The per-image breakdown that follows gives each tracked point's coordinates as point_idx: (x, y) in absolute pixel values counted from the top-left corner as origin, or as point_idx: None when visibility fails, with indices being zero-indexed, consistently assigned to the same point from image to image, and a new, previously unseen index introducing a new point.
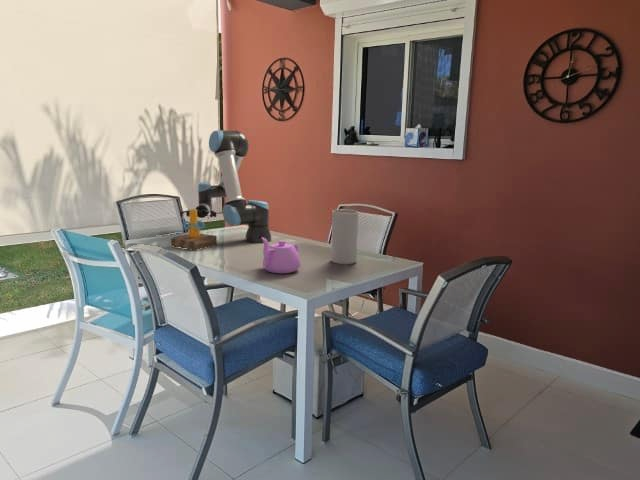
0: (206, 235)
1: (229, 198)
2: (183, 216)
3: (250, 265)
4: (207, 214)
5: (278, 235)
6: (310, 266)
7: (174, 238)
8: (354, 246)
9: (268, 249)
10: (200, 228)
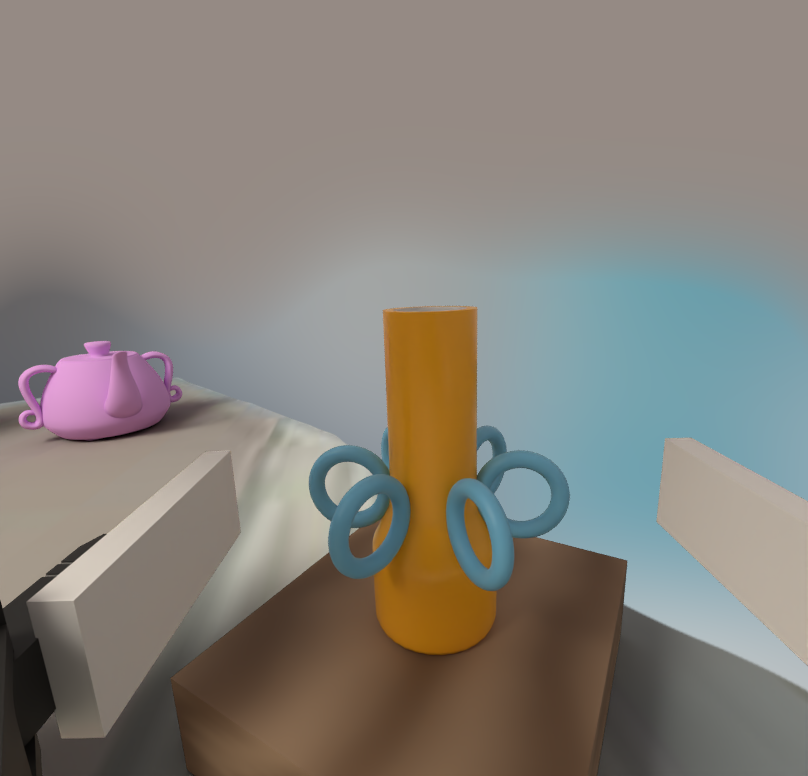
0: (297, 686)
1: None
2: (670, 480)
3: (180, 443)
4: (230, 452)
5: None
6: None
7: (589, 552)
8: None
9: (158, 352)
10: (358, 514)
